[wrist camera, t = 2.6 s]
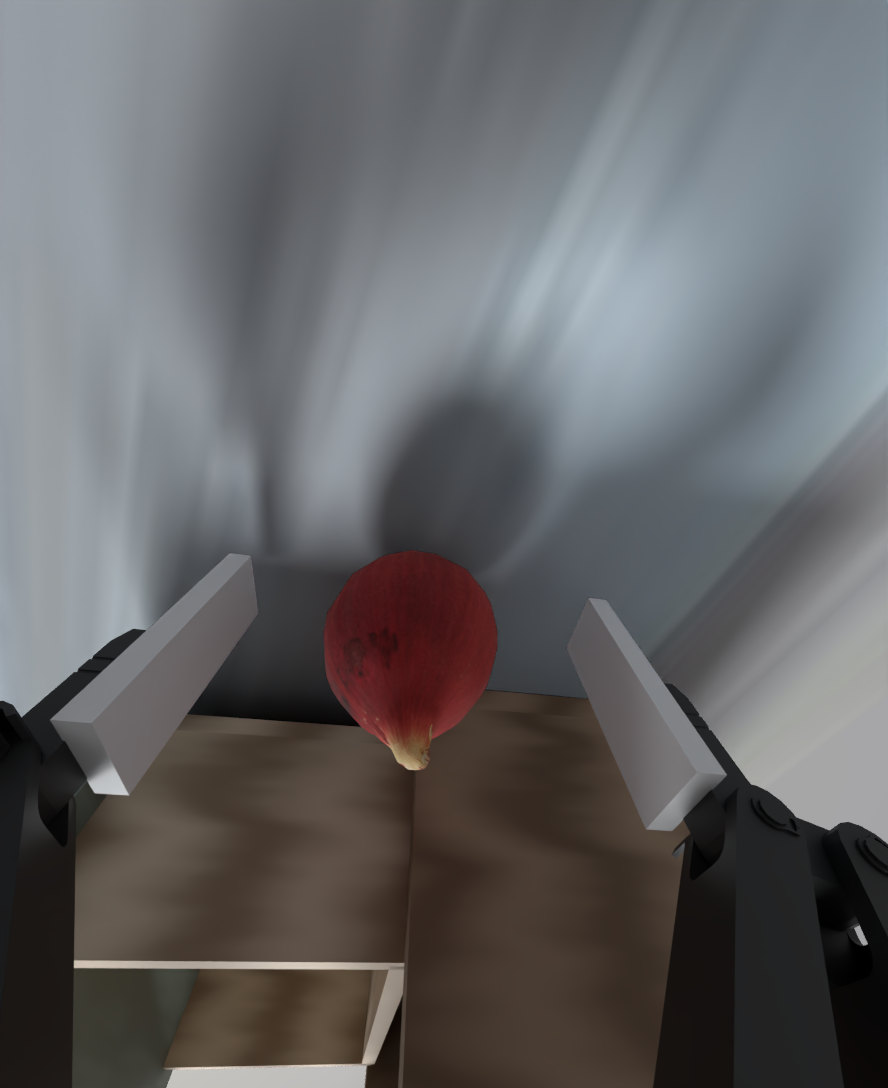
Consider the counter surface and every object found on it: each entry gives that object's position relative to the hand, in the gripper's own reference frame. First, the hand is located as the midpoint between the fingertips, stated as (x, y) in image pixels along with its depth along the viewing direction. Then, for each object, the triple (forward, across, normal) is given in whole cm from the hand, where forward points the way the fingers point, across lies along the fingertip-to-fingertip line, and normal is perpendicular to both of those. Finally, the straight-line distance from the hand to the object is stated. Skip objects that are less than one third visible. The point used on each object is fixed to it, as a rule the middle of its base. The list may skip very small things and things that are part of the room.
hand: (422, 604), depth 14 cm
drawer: (+1, -7, -20) cm, 21 cm away
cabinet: (+2, +8, -20) cm, 21 cm away
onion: (+2, 0, 0) cm, 2 cm away
